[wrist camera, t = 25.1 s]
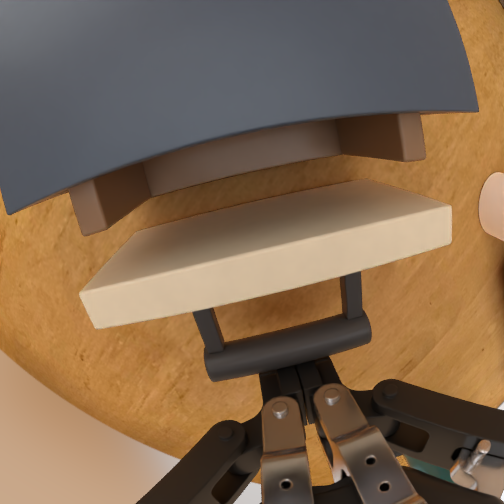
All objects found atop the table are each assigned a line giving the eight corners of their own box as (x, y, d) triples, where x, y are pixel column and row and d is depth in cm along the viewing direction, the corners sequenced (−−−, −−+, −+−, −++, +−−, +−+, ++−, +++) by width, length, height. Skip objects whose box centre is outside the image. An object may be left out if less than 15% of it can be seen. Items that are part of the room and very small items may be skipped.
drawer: (375, 284, 14) (438, 352, 9) (173, 333, 14) (153, 424, 9) (303, -51, 8) (338, -119, 2) (89, -6, 8) (32, -59, 2)
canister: (394, 452, 22) (437, 547, 10) (401, 429, 20) (456, 538, 8) (433, 433, 22) (481, 520, 10) (443, 408, 20) (504, 504, 8)
